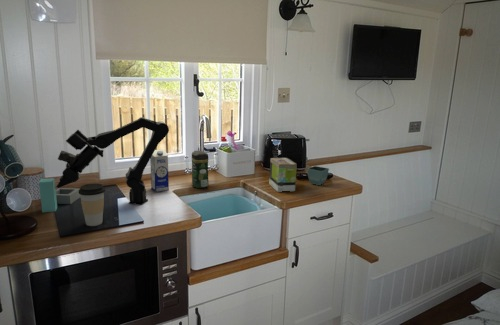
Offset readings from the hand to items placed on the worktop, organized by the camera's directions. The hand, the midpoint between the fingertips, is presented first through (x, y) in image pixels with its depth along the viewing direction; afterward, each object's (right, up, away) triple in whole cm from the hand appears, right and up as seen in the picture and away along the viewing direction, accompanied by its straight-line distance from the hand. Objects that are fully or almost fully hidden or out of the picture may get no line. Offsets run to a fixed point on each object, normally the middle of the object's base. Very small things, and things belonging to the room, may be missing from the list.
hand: (58, 184), depth 157 cm
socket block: (-4, -8, +13) cm, 16 cm away
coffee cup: (+19, -15, -11) cm, 27 cm away
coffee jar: (+54, -3, +40) cm, 67 cm away
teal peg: (-4, -11, +1) cm, 12 cm away
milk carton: (+35, -5, +32) cm, 48 cm away
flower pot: (+117, -3, +49) cm, 127 cm away
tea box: (+97, -4, +41) cm, 105 cm away
